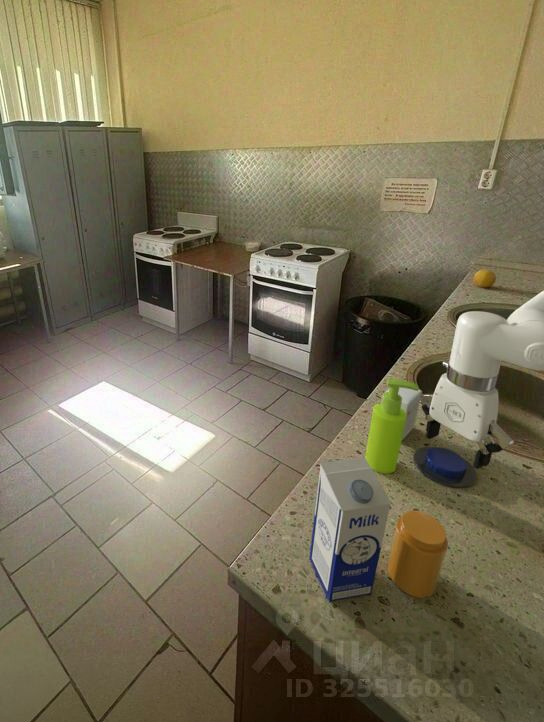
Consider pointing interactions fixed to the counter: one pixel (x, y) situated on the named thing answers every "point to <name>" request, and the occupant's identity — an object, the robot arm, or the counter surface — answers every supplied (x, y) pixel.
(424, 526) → the jar
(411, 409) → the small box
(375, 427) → the soap dispenser
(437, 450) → the lid
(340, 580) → the milk carton
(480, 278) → the fruit
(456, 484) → the coaster
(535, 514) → the counter surface
